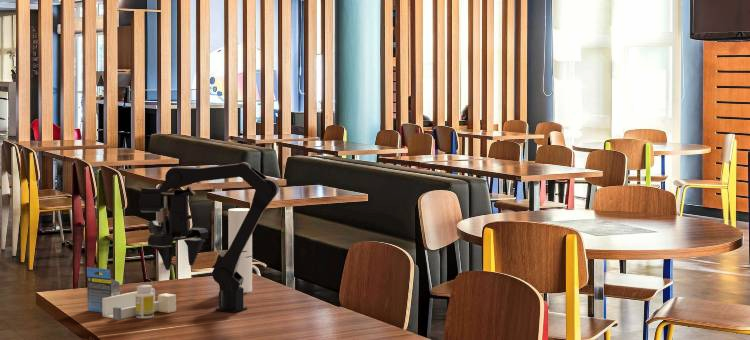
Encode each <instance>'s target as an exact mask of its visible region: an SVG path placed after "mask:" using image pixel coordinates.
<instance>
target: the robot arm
mask: <svg viewBox="0 0 750 340" xmlns="http://www.w3.org/2000/svg"><path fill="white" fill-rule="evenodd" d="M164 178H165V179H164V181H163V183H162V184H161V185H160V187H158V188H157V187H156V188H155V187H152V188H151V187H141V189H140V194H139V200H138V205H139V206H138V207H139V211H140V213H162V212H163V210H164V209H166V208H167V215H164V217H163V221H161V222H160V221H158V220H151V221H150V222H148V232H149V233H150V234H149V236H148V237H147V246H151V248H153V249H155V250H156V251H157V252H158V254H159V255H160V258H161V261H162V263H163V267H164V268H165V270H166V271H170V269H171V267H172V262H173V261H172V260H173V256H174V255H173V253H174V247H175V246H174V245H172V244H173V243H174V242H177V241H181V240H182V241H183V240H184V242H185V244H186V246H187V259H188V264H189V266H193V265H194V263H195V261H196V259H197V257H198V254H199V253H200V250H201V249H202V247H203V244H204V243H206V242H207V241H206V240H207V239H210V237H209V231H208V229H207V228H204V227H191V228H190V220H192V219H193V214H190V213H189V211H190V209H189V205H190V204H189V196H190V197H193V196H195V195H196V192H195V190H193V189H192V188H191V185H192V184H193V185H194V184H195V183H199V182H205V181H214V180H223V179H233V178H234V179H235V178H241V179H243V181H245V182H246V184H248V185H249V186H250V187H251V188H252V189H254V194H253V196H252V201H251V204H250V208H248V209H249V211H248V213H247V215H246V217H245V219H244V221H243V223H242V225H241V227H240V229H239V231H238V232H237V234H236V236H235V238H234V240H233V242H232V244H231V246H230V248H229V250H228V249H227V251H226V252H223V251H221V252H220V253H218V255H217V257H216V261H215V263H214V264H213V265H212V266H211V269H212V272H211V276H212V278H213V280H214V282H216V283H217V284H218V286H219V292H218V307H215V310H216V311H222V312H227V313H235V312H239V311H243V310H248V306H244V293H243V288H242V287H240V286H241V285H242V283H243V280H244V278H243V277H242V276H241V275H240V274H239V273H238V272H237V268H238V264H239V261H240V257H241V254H242V252H243V250H244V248H245V246H246V244H247V242H248V240H249V238H250V236H251V234H252V235H253V232H254V231H255V229H256V227H257V225H258V223H259V221H260V219H261V217H262V215H263V213H264V211H265V210H266V209H267V208H268V206H269V205H270V204H271V203H272V201H273V200H274V199H275V198H276V196H277V195H278V193H279V191H280V185H279V183H278V181H277V180H276V179H275V178H272V177H267V176H266V175H264V174H263V173H261V172H260V171H258V170H257V169H255V168H254V167H253V166H252V165H251V164H250V163H248V162H245V161H243V162H242V161H241V162H240V163H233V164H231V163H230V164H224V165H222V164H221V165H216V166H214V165H213V166H206V167H193V166H183V165H182V166H181V165H179V166H178V165H177V166H174V167H172V168H169V169H168V170H167V171H166V173H165V177H164ZM187 186H188V187H187ZM183 187H187V188H186V189H179V188H183ZM173 189H174V192H170V193H169V191H172V190H173Z"/></svg>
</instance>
